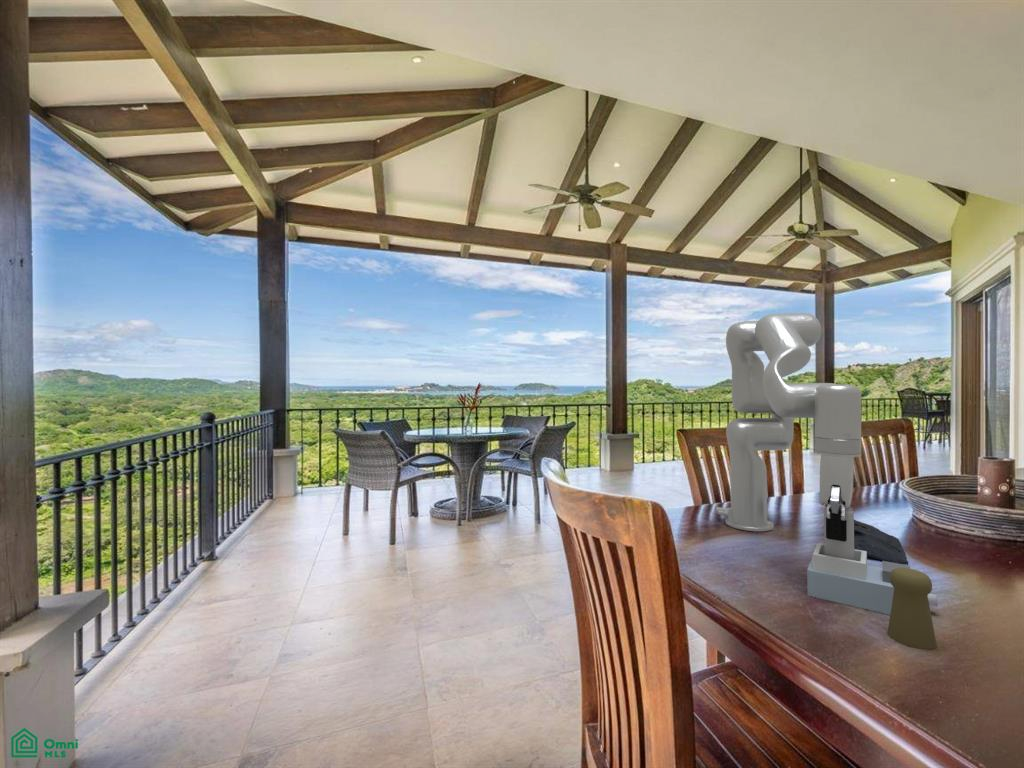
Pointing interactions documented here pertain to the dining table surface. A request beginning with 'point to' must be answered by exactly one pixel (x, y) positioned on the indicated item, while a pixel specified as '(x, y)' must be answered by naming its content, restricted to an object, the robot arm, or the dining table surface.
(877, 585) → the recessed tray block
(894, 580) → the olive pepper mill
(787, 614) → the dining table surface
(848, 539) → the beverage can
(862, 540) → the dark slate chunk
